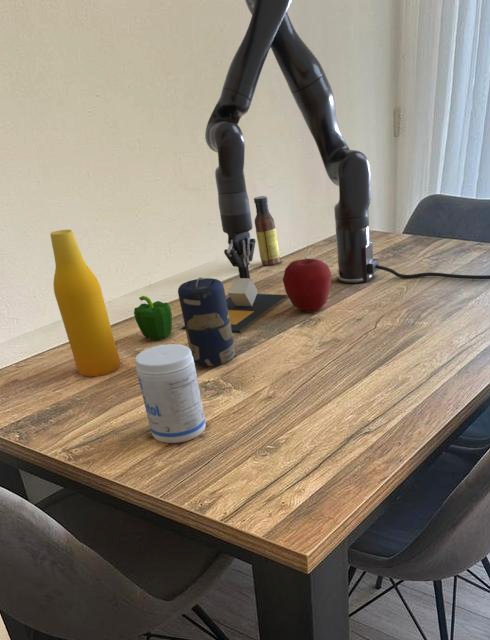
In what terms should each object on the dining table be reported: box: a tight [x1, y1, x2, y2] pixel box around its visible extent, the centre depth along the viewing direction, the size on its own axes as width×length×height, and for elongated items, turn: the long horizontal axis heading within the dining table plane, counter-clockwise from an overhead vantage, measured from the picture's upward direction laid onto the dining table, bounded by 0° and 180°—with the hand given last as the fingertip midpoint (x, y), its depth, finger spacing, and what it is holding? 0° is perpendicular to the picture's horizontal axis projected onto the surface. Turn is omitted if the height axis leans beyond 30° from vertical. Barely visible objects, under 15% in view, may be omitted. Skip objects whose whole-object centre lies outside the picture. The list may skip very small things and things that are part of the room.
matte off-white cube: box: [227, 277, 259, 306], centre depth 175 cm, size 5×5×5 cm
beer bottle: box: [49, 229, 121, 377], centre depth 140 cm, size 9×9×29 cm
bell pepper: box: [133, 295, 173, 341], centre depth 160 cm, size 8×8×10 cm
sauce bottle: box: [253, 195, 281, 266], centre depth 208 cm, size 7×6×20 cm
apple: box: [282, 256, 332, 313], centre depth 167 cm, size 12×12×13 cm
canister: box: [177, 277, 236, 367], centre depth 141 cm, size 10×10×18 cm
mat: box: [182, 293, 288, 334], centre depth 174 cm, size 16×28×1 cm, turn 158°
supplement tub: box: [134, 343, 207, 444], centre depth 115 cm, size 10×10×15 cm
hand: (245, 280), depth 176 cm, fingers closed
